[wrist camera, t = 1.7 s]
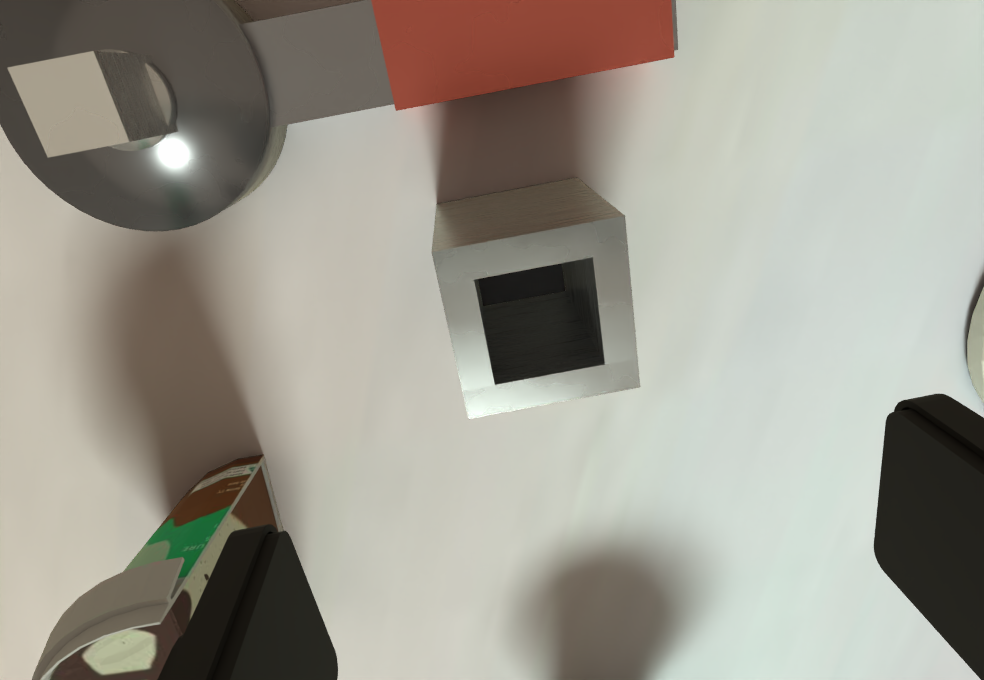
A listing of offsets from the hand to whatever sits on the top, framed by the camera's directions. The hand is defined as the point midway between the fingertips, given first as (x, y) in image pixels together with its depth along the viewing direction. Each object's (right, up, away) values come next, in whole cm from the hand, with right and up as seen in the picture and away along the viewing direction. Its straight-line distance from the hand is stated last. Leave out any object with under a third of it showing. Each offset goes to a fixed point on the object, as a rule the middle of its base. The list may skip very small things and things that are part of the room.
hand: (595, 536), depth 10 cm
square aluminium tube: (-1, +6, +15) cm, 16 cm away
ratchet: (-6, +13, +12) cm, 18 cm away
